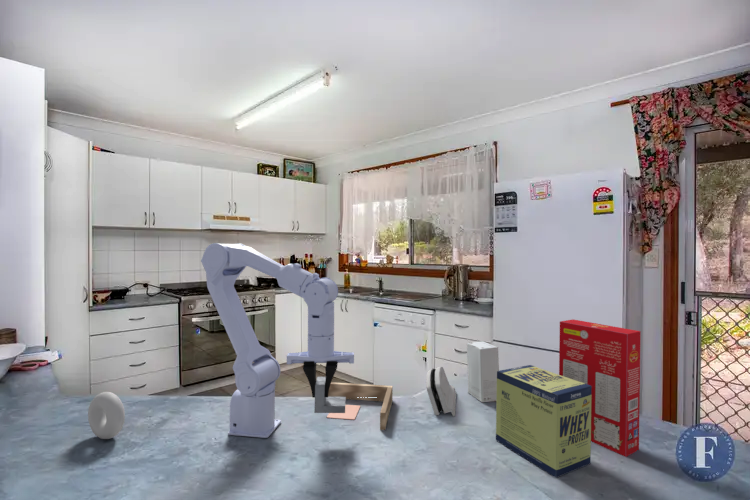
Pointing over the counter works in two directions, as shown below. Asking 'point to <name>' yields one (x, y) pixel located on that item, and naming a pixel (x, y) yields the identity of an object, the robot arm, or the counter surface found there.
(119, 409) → the donut
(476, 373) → the skincare box
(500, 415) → the protein box
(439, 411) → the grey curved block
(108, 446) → the counter surface
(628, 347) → the food packaging
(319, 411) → the bracket
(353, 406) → the flat panel
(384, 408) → the wooden corner frame
